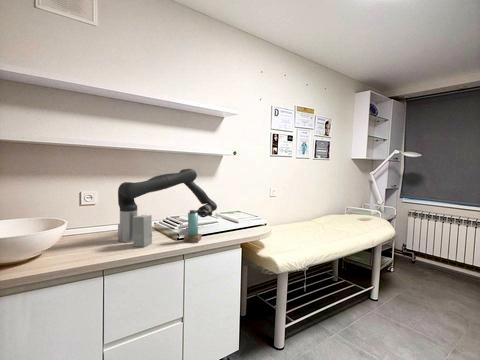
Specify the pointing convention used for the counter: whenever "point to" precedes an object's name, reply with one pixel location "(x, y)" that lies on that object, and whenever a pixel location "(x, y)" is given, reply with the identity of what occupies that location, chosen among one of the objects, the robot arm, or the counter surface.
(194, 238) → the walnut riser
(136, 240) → the skincare box
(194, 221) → the teal bottle
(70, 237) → the counter surface
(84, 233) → the counter surface
